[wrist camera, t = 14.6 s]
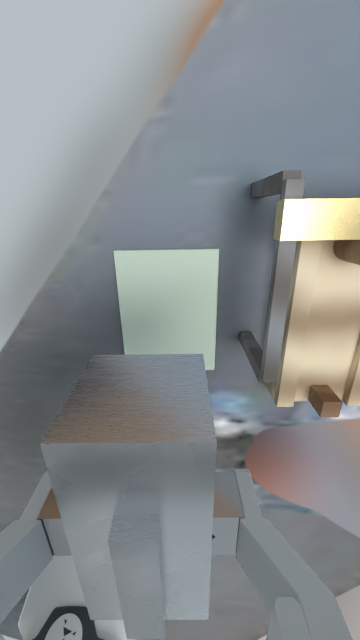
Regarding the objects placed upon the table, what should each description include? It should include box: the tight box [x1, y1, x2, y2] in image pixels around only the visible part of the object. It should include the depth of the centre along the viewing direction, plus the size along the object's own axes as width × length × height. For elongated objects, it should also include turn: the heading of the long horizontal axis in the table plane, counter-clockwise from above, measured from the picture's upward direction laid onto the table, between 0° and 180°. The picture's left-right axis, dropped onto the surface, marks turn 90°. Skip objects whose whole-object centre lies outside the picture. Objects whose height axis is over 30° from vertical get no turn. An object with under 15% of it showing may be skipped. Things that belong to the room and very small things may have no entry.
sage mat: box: [114, 248, 219, 370], centre depth 25 cm, size 12×9×1 cm
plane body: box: [240, 170, 360, 417], centre depth 21 cm, size 19×14×8 cm
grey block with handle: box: [40, 354, 217, 639], centre depth 9 cm, size 8×4×5 cm, turn 1°
